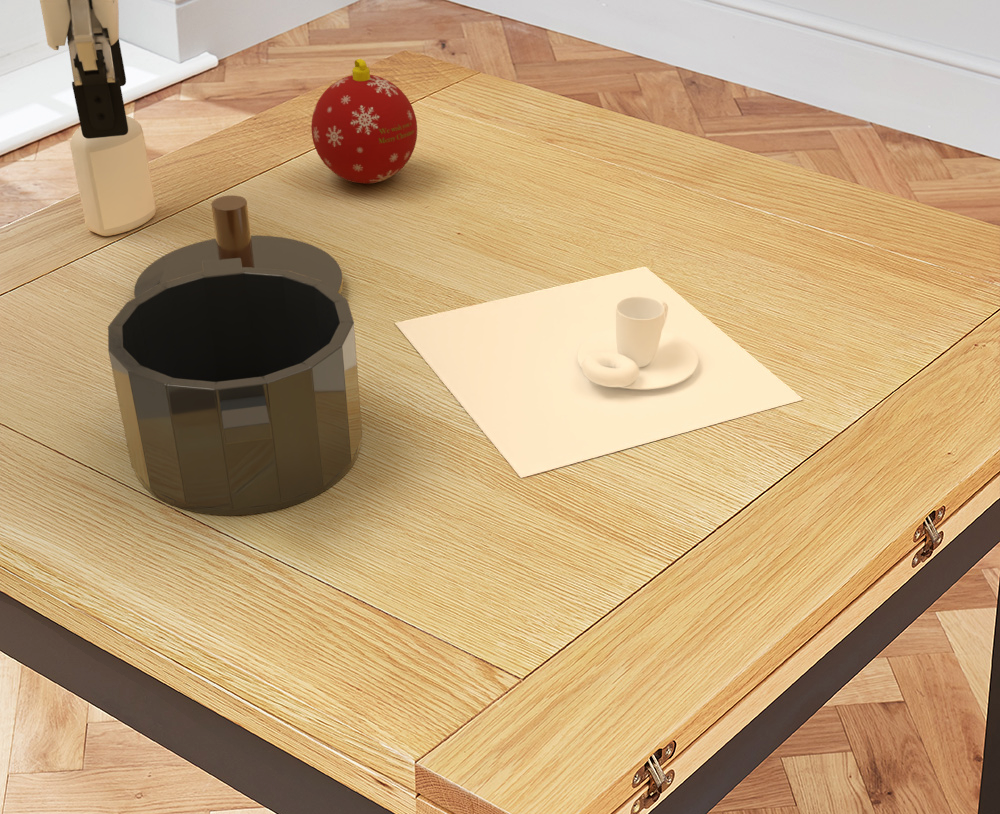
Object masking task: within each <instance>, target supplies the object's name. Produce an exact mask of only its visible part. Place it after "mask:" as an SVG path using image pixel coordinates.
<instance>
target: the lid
mask: <svg viewBox="0 0 1000 814" xmlns="http://www.w3.org/2000/svg"><path fill="white" fill-rule="evenodd" d="M210 206H211V212H212V213H211V214H212V221H213V227H214V233H215V234H214V235H215V238H212V239H206V240H202V241H199V242H195V243H191V244H188V245H184V246H182V247H179V248H177V249H175V250H173V251H170V252H169V253H166V254H163V256H161V257H159V258H158V259H156V260H155V261H153V262H152V263H150V264H149V265H148V266H147V267H146V268H145V269H144V270H143V271H142V272H141V273H140V275H139V276H138V277H137V280H136V282H135V284H134V289H133V295H134V298H136V297H137V296H139V295H141V294H143V293H144V292H146V291H148V290H149V289H151V288H153V287H155V286H156V285H158V284H161V283H164V282H167V281H171V280H174V279H177V278H181V277H184V276H187V275H191V274H194V273H198V272H203V267H202V262H203V261H213V260H222V259H232V258H241V262H242V267H245V268H246V267H251V268H263V269H276V270H287V271H291V272H294V273H298V274H301V275H304V276H307V277H310V278H313V279H317V280H320V281H323V282H325V283H326V284H328V285H329V286H330V287H331V288H333V289H334V290H335V291H337V292H338V293H339V294H340V295H342V291H343V287H344V279H343V271H342V269H341V267H340V264H339V263H338V261H336V259H335V258H334V257H333V256H331V254H329V252H326V251H325V250H323V249H321V248H319V247H317V246H315V245H313V244H310V243H308V242H305V241H301V240H297V239H293V238H287V237H282V236H273V235H260V234H259V235H256V234H255V235H254V234H253V235H252V234H251V233H252V232H251V226H250V217H249V216H250V215H249V209H248V208H249V207H248V201H247V199H246V198H245V197H243V196H240V195H234V194H233V195H232V194H231V195H223V196H219V197H217V198H215V199H213V200H212V202H211V204H210Z"/></svg>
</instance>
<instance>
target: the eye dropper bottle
mask: <svg viewBox="0 0 1000 814" xmlns="http://www.w3.org/2000/svg"><path fill="white" fill-rule="evenodd" d="M126 118H127V124H128V133H127V134H126V135H122V136H111V137H101V138H90V139H87V138H85V137H84V136H83V135H82V130H81V126H80V125H79V126H78V127H77V129H76V130H75V131H74V133H73V134H72V136H71V138H70V142H69V143H70V144H69V145H70V151H71V158H72V162H73V167H74V172H75V178H76V179H75V180H76V183H77V189H78V193H79V199H80V203H81V209H82V212H83V218H84V224H85V227H86V229H87V230H89V231H90V232H92V233H95V234H97V235H99V236H102V237H111V236H115V235H119V234H124V233H126V232H130V231H132V230H135V229H137V228H139V227H141V226H143V225H145V224H146V223H148V222H149V221H150V220H151V219H153V218H154V217H155V215H156V213H157V204H156V199H155V193H154V187H153V180H152V175H151V174H152V173H151V170H150V162H149V157H148V152H147V146H146V140H145V135H144V130H143V127H142V125H141V123H140V122H139V121H138V120H136V119H135V118H133V117H131V116H127V115H126Z"/></svg>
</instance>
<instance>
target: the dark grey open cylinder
mask: <svg viewBox="0 0 1000 814" xmlns="http://www.w3.org/2000/svg"><path fill="white" fill-rule="evenodd" d="M202 267H203V272H198V273H194V274H191V275H187V276H184V277H181V278H177V279H174V280H171V281H167V282H164V283H161V284H158V285H156V286H155V287H153V288H151V289H149V290H148V291H146V292H144V293H143V294H141V295H139V296H137V297H136V298H135V297H134V298H132V299H131V300H129V301H127V302H126V303H125V304H124V305H123V307H122V308H121V309H120V310H119V312H118V313H117V314H116V315H115V316H114V318H113V319H112V321H111V322H110V323H109V324H108V326H107V351H108V356H109V361H110V365H111V370H112V375H113V382H114V387H115V392H116V396H117V400H118V406H119V409H120V410H119V411H120V417H121V421H122V426H123V431H124V437H125V441H126V445H127V450H128V456H129V461H130V465H131V468H132V469H133V470H134V471H133V472H134V473H135V476H136V478H137V479H138V481H139V482H140V484H141V485H142V486H143V487H144V489H146V490H147V491H148V492H149V493H150V494H151V495H153V496H154V497H156V498H157V499H159V500H160V501H162V502H164V503H166V504H169V505H171V506H174V507H175V508H179V509H182V510H186V511H189V512H194V513H198V514H206V515H213V516H247V515H256V514H263V513H270V512H274V511H278V510H282V509H285V508H290V507H293V506H295V505H298V504H301V503H304V502H306V501H309V500H310V499H312V498H314V497H317V496H319V495H320V494H322V493H323V492H325V491H327V490H328V489H330V488H331V487H332V486H334V485H335V484H337V483H338V482H339V481H340V480H341V479H342V478H344V476H345V475H347V473H348V472H349V471H350V470H351V468H352V467H353V466H354V464H355V462H356V460H357V459H358V455H359V453H360V450H361V442H362V438H363V429H362V415H361V400H360V385H359V374H358V360H357V359H358V358H357V345H356V334H355V333H356V332H355V321H354V318H353V315H352V312H351V308H350V304H349V301H348V299H347V298H346V297H345V296H344V295H342V294H339V293H338V292H337V291H335V290H334V289H333V288H331V287H330V286H329V285H328V284H326V283H325V282H323V281H320V280H317V279H313V278H310V277H307V276H304V275H301V274H298V273H294V272H291V271H287V270H276V269H263V268H251V267H246V268H245V267H242V262H241V258H232V259H222V260H213V261H203V262H202Z"/></svg>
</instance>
